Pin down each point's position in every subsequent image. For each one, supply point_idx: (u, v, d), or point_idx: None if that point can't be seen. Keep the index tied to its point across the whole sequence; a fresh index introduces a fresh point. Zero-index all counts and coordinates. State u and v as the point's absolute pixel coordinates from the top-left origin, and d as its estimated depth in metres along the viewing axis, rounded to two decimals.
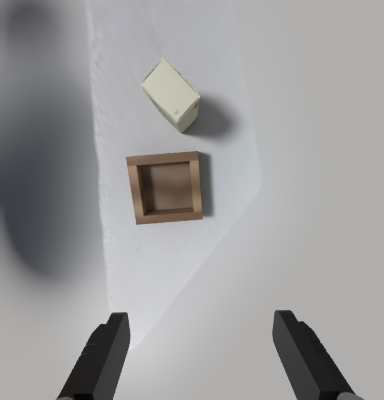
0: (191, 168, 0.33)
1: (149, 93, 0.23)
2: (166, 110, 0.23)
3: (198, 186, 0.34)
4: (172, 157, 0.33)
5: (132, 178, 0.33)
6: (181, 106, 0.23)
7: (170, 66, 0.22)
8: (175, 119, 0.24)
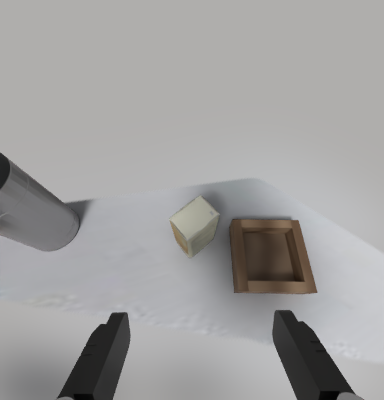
0: (248, 226, 0.35)
1: (194, 233, 0.26)
2: (209, 221, 0.27)
3: (265, 221, 0.36)
4: (239, 242, 0.34)
5: (262, 287, 0.30)
6: (207, 209, 0.28)
7: (176, 214, 0.28)
8: (217, 214, 0.27)
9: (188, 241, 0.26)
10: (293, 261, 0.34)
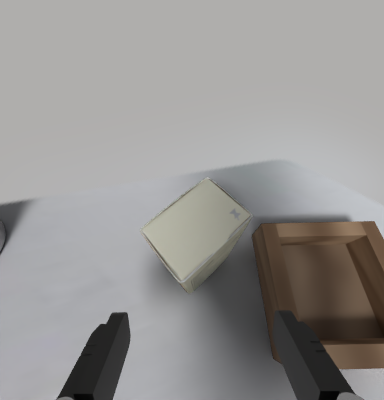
0: (290, 234, 0.20)
1: (199, 263, 0.11)
2: (231, 232, 0.12)
3: (318, 225, 0.21)
4: (278, 265, 0.19)
5: (337, 359, 0.15)
6: (224, 204, 0.13)
7: (156, 220, 0.12)
8: (247, 217, 0.12)
9: (185, 282, 0.11)
10: (374, 295, 0.19)
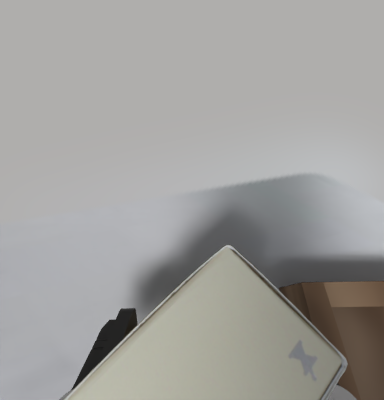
0: (349, 303, 0.13)
1: None
2: None
3: None
4: None
5: None
6: (272, 328, 0.05)
7: (105, 371, 0.05)
8: (334, 368, 0.05)
9: None
10: None
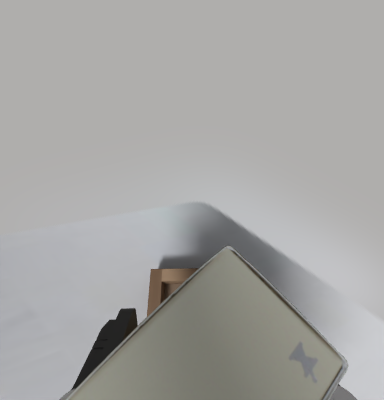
0: (171, 279, 0.25)
1: None
2: None
3: (195, 271, 0.26)
4: (154, 306, 0.24)
5: None
6: (273, 330, 0.05)
7: (105, 373, 0.05)
8: (335, 370, 0.05)
9: None
10: None
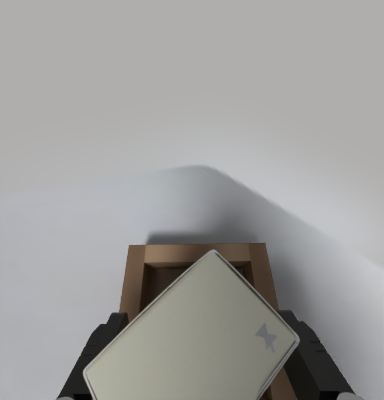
0: (159, 259, 0.17)
1: None
2: (262, 383, 0.06)
3: (196, 248, 0.17)
4: (130, 300, 0.15)
5: None
6: (244, 314, 0.07)
7: (117, 346, 0.07)
8: (289, 343, 0.06)
9: None
10: None
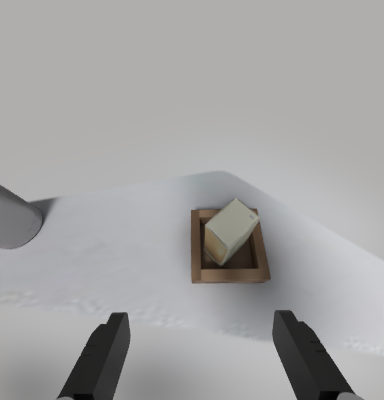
0: (206, 216, 0.35)
1: (235, 240, 0.24)
2: (250, 226, 0.24)
3: None
4: (195, 232, 0.34)
5: (215, 275, 0.30)
6: (246, 212, 0.25)
7: (212, 220, 0.25)
8: (257, 218, 0.25)
9: (229, 249, 0.24)
10: (251, 249, 0.34)
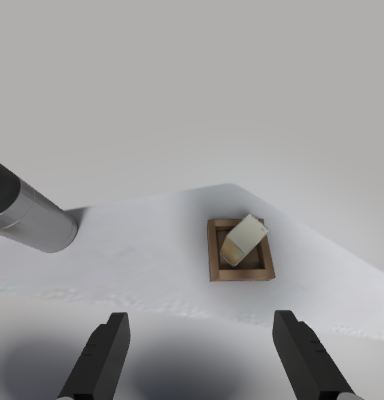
0: (221, 225, 0.42)
1: (251, 248, 0.30)
2: (261, 237, 0.31)
3: (235, 220, 0.42)
4: (212, 238, 0.40)
5: (230, 275, 0.37)
6: (258, 226, 0.32)
7: (232, 232, 0.32)
8: (267, 231, 0.32)
9: (245, 255, 0.31)
10: (259, 253, 0.41)
